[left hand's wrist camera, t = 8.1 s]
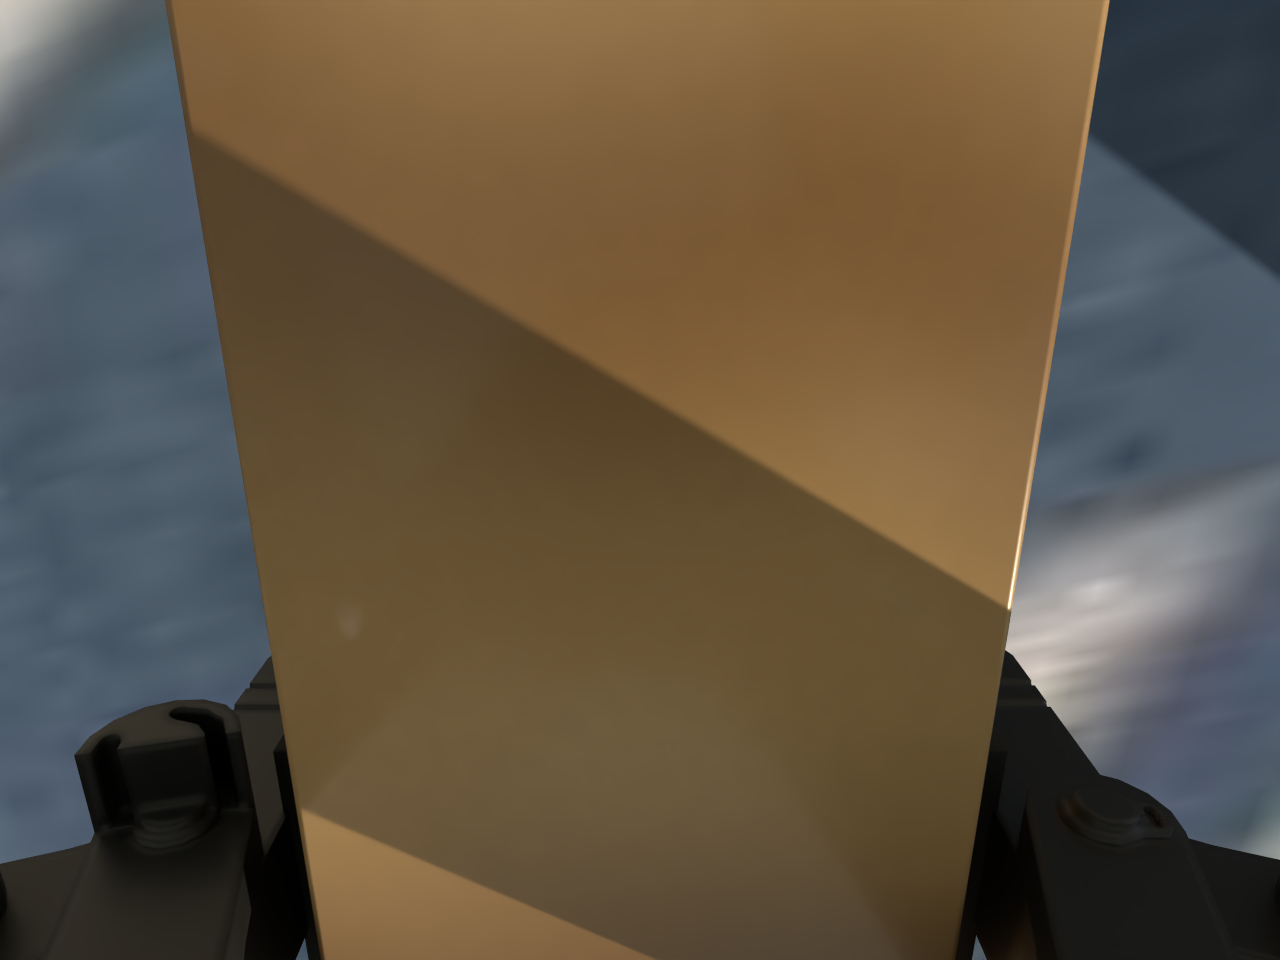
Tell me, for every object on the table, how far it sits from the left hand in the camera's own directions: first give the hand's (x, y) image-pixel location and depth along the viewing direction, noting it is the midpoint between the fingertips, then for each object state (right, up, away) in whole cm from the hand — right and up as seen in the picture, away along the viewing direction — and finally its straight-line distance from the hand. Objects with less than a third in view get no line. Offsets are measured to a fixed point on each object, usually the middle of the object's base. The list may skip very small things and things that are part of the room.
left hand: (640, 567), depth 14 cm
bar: (0, -22, +9) cm, 24 cm away
